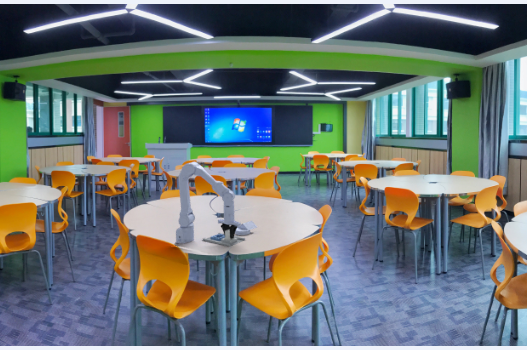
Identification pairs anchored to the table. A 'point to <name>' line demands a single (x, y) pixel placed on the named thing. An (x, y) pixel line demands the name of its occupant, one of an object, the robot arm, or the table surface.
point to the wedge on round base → (245, 228)
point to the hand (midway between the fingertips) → (229, 237)
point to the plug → (227, 235)
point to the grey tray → (224, 240)
